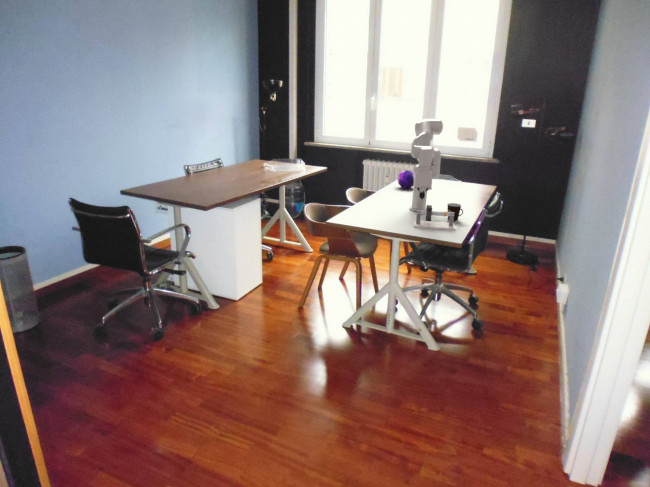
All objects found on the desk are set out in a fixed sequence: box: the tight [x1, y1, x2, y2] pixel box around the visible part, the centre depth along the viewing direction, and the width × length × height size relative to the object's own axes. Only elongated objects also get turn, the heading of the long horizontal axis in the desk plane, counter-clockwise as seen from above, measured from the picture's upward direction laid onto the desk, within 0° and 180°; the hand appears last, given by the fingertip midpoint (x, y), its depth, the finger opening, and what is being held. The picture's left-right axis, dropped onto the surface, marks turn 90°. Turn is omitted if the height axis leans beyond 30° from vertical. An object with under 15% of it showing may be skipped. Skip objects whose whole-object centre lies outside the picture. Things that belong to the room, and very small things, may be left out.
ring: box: [425, 204, 433, 221], centre depth 295 cm, size 8×3×8 cm, turn 170°
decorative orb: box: [397, 169, 414, 190], centre depth 397 cm, size 15×15×15 cm
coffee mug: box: [447, 202, 464, 222], centre depth 308 cm, size 12×9×10 cm
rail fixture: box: [413, 210, 457, 231], centre depth 296 cm, size 13×25×9 cm, turn 80°
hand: (421, 198), depth 292 cm, fingers closed
